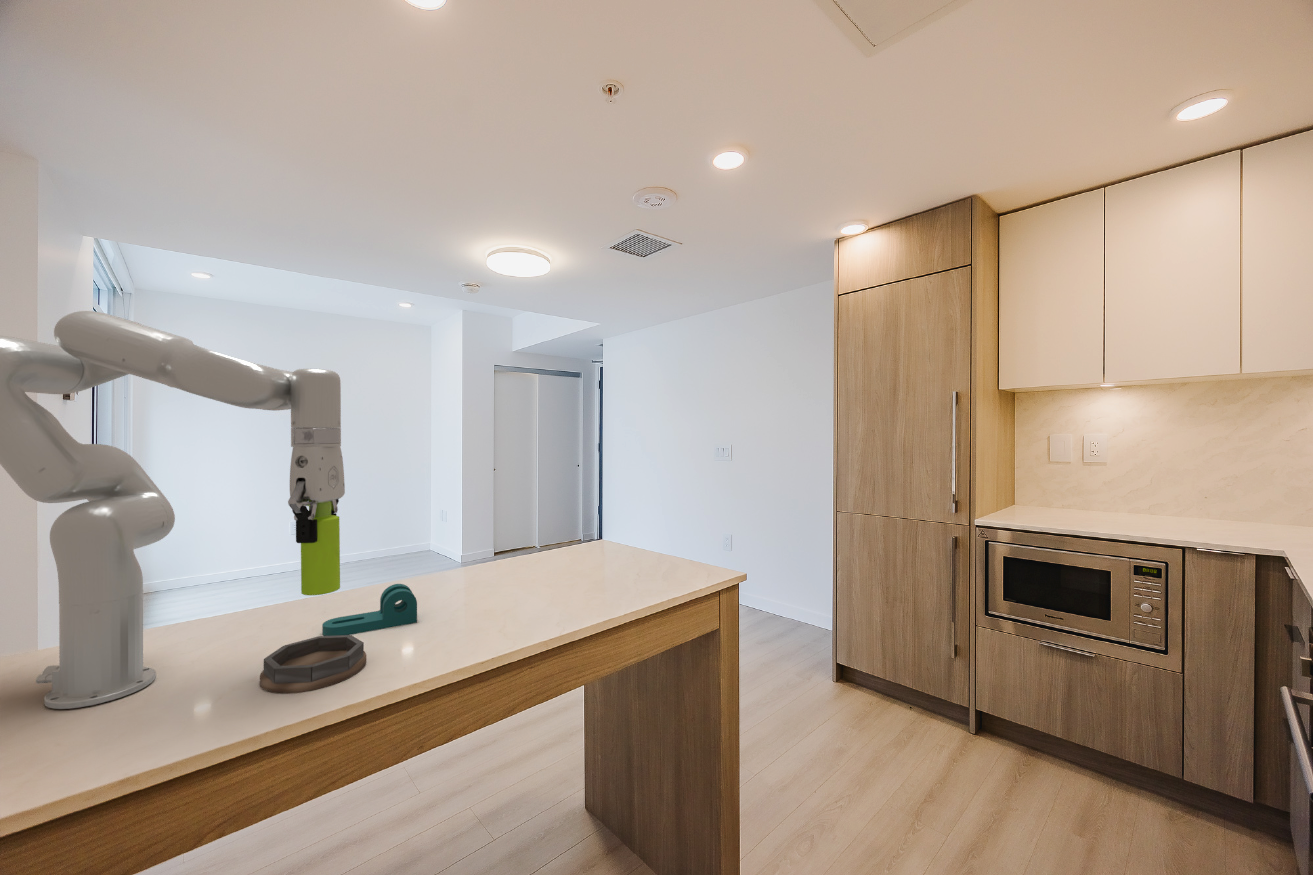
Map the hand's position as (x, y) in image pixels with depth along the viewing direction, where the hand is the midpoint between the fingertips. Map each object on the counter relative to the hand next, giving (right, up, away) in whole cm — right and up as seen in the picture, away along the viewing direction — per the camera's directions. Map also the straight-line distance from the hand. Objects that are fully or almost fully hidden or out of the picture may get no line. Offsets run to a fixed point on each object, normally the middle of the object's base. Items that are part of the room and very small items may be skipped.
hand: (317, 537), depth 93 cm
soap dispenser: (0, -10, 0) cm, 10 cm away
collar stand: (0, -24, 0) cm, 24 cm away
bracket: (-3, -24, +22) cm, 33 cm away
